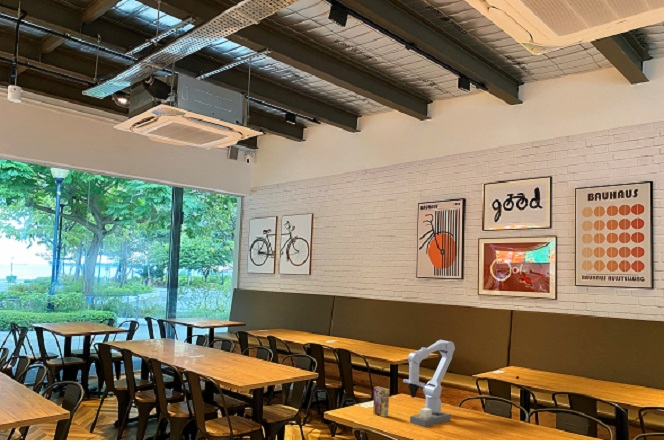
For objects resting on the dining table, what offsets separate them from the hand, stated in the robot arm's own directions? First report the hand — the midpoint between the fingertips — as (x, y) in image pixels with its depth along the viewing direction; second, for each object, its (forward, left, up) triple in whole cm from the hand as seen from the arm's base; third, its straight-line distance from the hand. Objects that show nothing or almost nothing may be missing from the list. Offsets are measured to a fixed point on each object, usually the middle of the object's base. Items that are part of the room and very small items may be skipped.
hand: (413, 397), depth 304 cm
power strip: (+3, +15, -10) cm, 18 cm away
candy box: (+17, -10, -10) cm, 22 cm away
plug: (+9, +16, -9) cm, 20 cm away
